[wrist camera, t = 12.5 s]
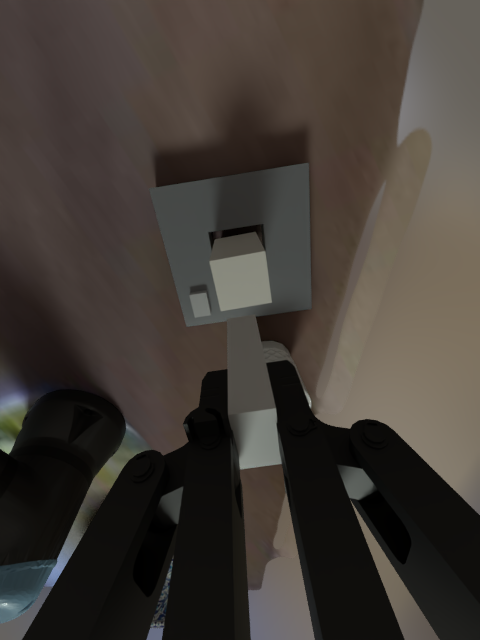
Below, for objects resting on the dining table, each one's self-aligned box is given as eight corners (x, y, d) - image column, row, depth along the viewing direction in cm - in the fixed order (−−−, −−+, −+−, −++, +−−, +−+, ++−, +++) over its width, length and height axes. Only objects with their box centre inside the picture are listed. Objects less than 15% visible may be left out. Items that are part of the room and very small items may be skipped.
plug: (223, 270, 34) (220, 311, 23) (216, 234, 32) (209, 261, 21) (258, 264, 34) (271, 302, 23) (253, 227, 31) (265, 250, 21)
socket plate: (189, 316, 37) (185, 329, 33) (156, 187, 29) (146, 188, 26) (305, 299, 36) (313, 311, 33) (301, 164, 29) (311, 162, 25)
